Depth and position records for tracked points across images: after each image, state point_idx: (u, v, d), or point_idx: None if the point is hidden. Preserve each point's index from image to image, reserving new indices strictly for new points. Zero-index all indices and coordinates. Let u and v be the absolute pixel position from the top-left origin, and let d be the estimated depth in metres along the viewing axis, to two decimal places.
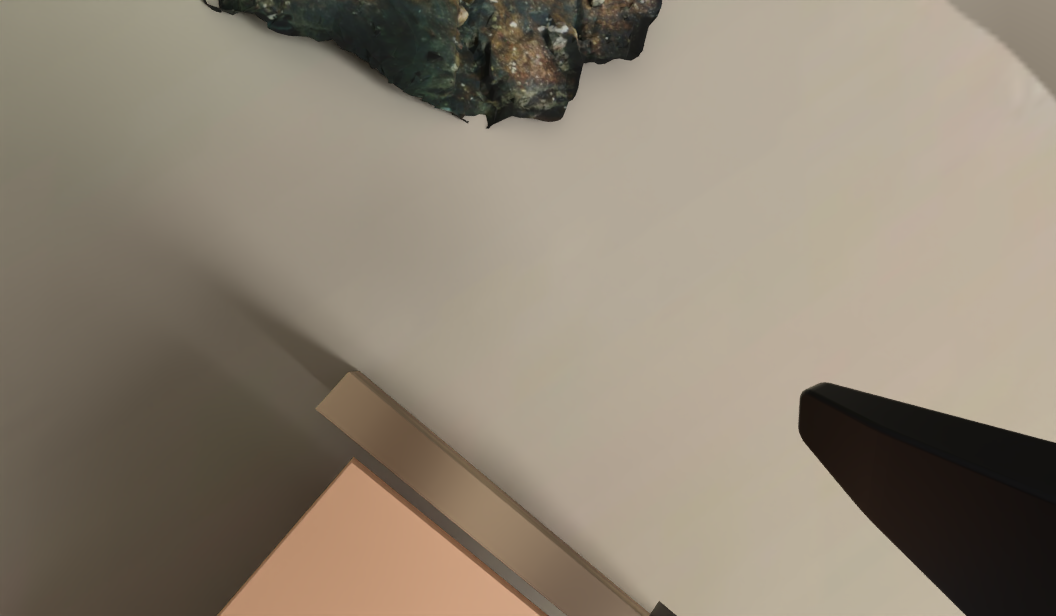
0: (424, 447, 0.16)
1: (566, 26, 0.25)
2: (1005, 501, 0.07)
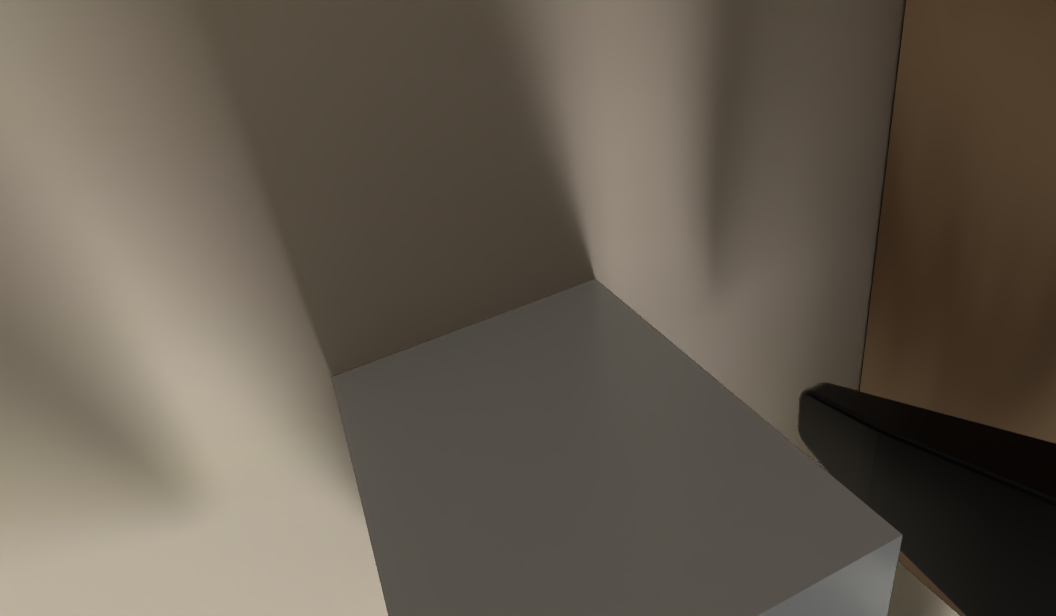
0: None
1: None
2: (1004, 501, 0.07)
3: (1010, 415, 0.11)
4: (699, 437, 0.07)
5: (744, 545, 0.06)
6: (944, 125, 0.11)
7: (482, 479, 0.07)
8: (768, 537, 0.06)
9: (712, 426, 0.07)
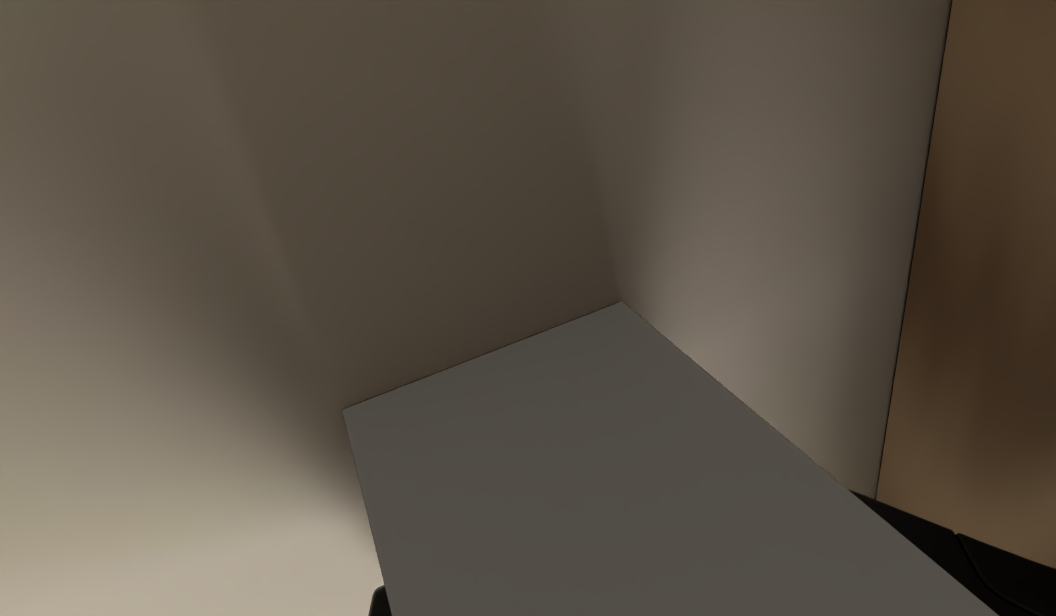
0: None
1: None
2: None
3: None
4: (752, 490, 0.06)
5: None
6: (992, 137, 0.10)
7: (512, 537, 0.07)
8: (843, 615, 0.05)
9: (766, 477, 0.07)
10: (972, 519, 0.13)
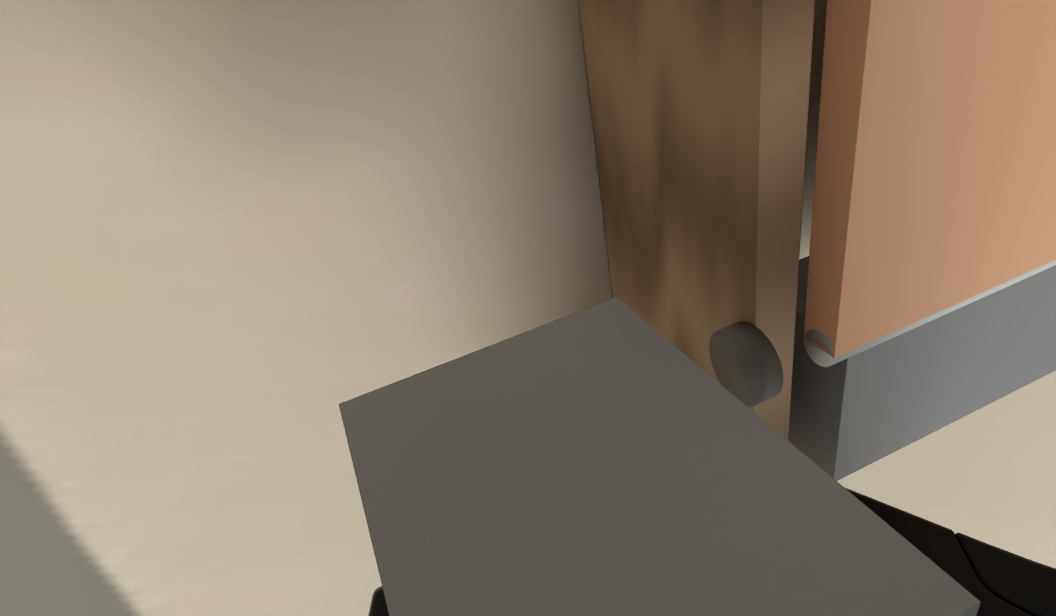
0: None
1: None
2: None
3: (657, 275, 0.19)
4: (742, 481, 0.07)
5: (801, 611, 0.05)
6: (605, 98, 0.18)
7: (505, 526, 0.07)
8: (828, 602, 0.05)
9: (755, 468, 0.07)
10: None
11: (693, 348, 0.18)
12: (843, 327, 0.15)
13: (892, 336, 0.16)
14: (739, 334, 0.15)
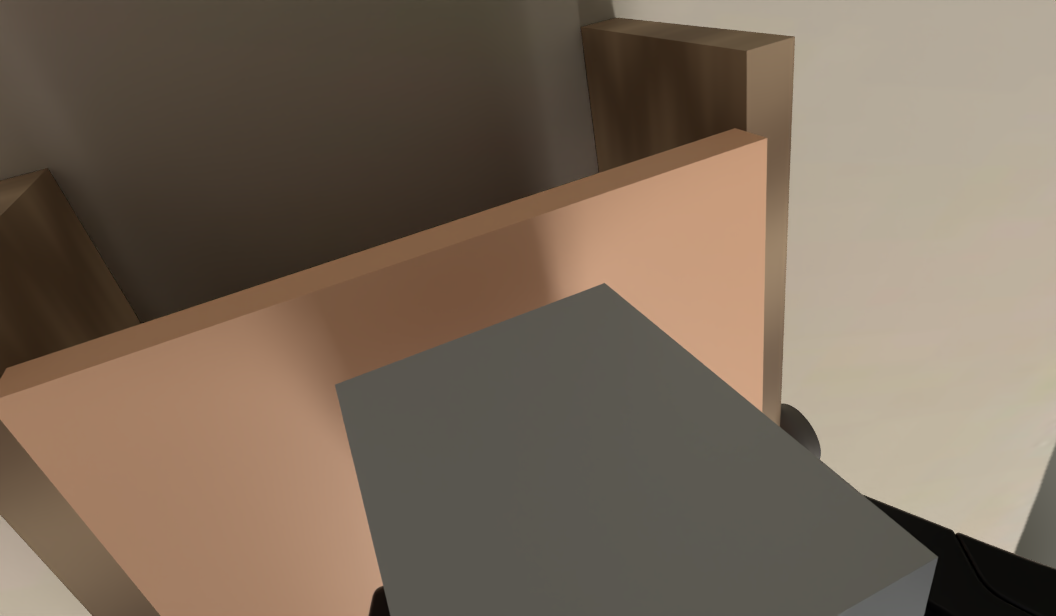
0: (781, 165, 0.14)
1: None
2: None
3: None
4: (719, 451, 0.07)
5: (770, 568, 0.06)
6: None
7: (492, 495, 0.07)
8: (795, 558, 0.06)
9: (731, 439, 0.07)
10: None
11: None
12: None
13: None
14: None
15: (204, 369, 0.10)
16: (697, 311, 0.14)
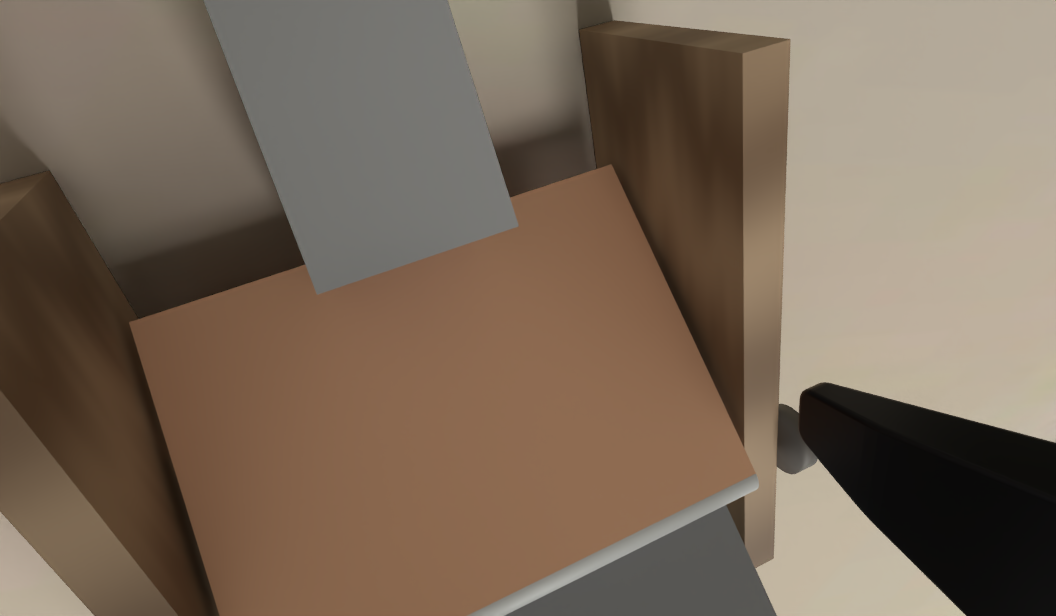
0: (778, 166, 0.15)
1: None
2: (1005, 501, 0.07)
3: None
4: None
5: None
6: None
7: None
8: None
9: None
10: None
11: None
12: None
13: None
14: None
15: (249, 308, 0.17)
16: (604, 283, 0.18)
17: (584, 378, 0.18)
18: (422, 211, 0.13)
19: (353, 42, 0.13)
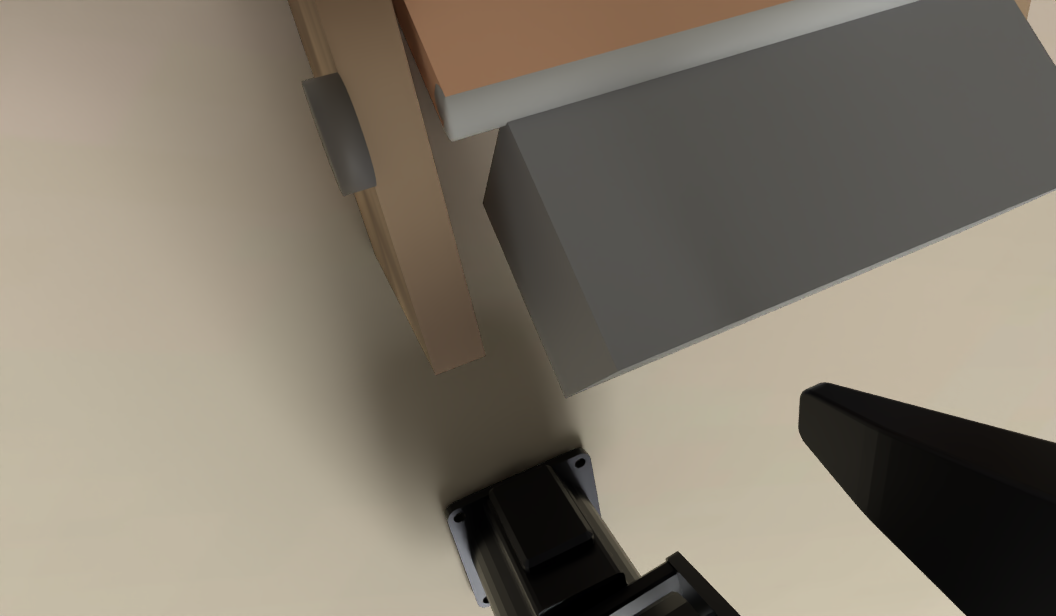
0: None
1: None
2: (1005, 501, 0.07)
3: (320, 74, 0.14)
4: None
5: None
6: None
7: None
8: None
9: None
10: None
11: None
12: (437, 54, 0.11)
13: (549, 79, 0.11)
14: (308, 80, 0.10)
15: None
16: None
17: None
18: None
19: None
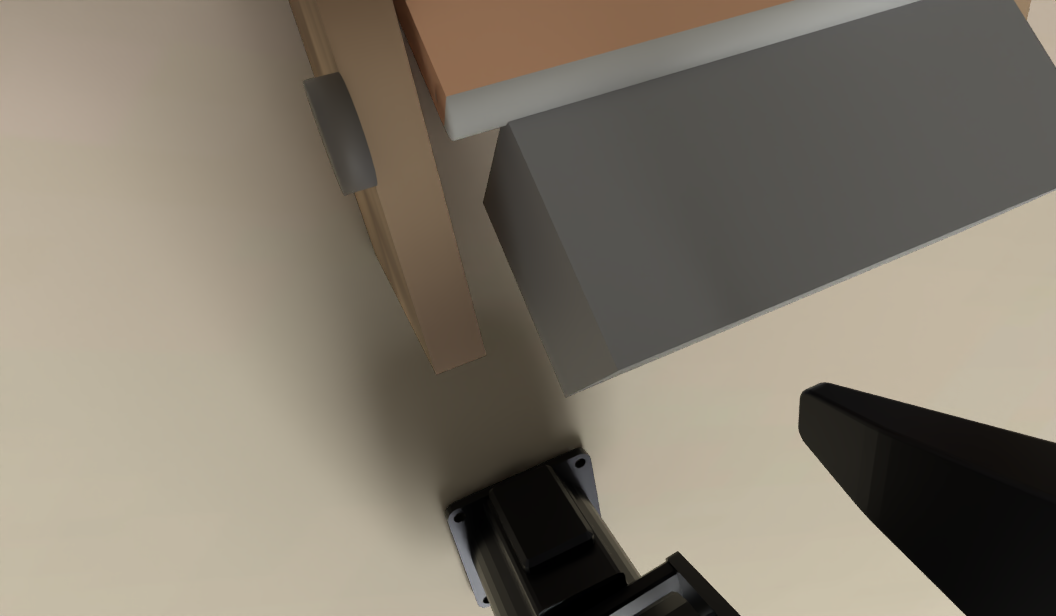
0: None
1: None
2: (1005, 501, 0.07)
3: (321, 74, 0.14)
4: None
5: None
6: None
7: None
8: None
9: None
10: None
11: None
12: (439, 54, 0.11)
13: (550, 78, 0.11)
14: (309, 80, 0.10)
15: None
16: None
17: None
18: None
19: None
